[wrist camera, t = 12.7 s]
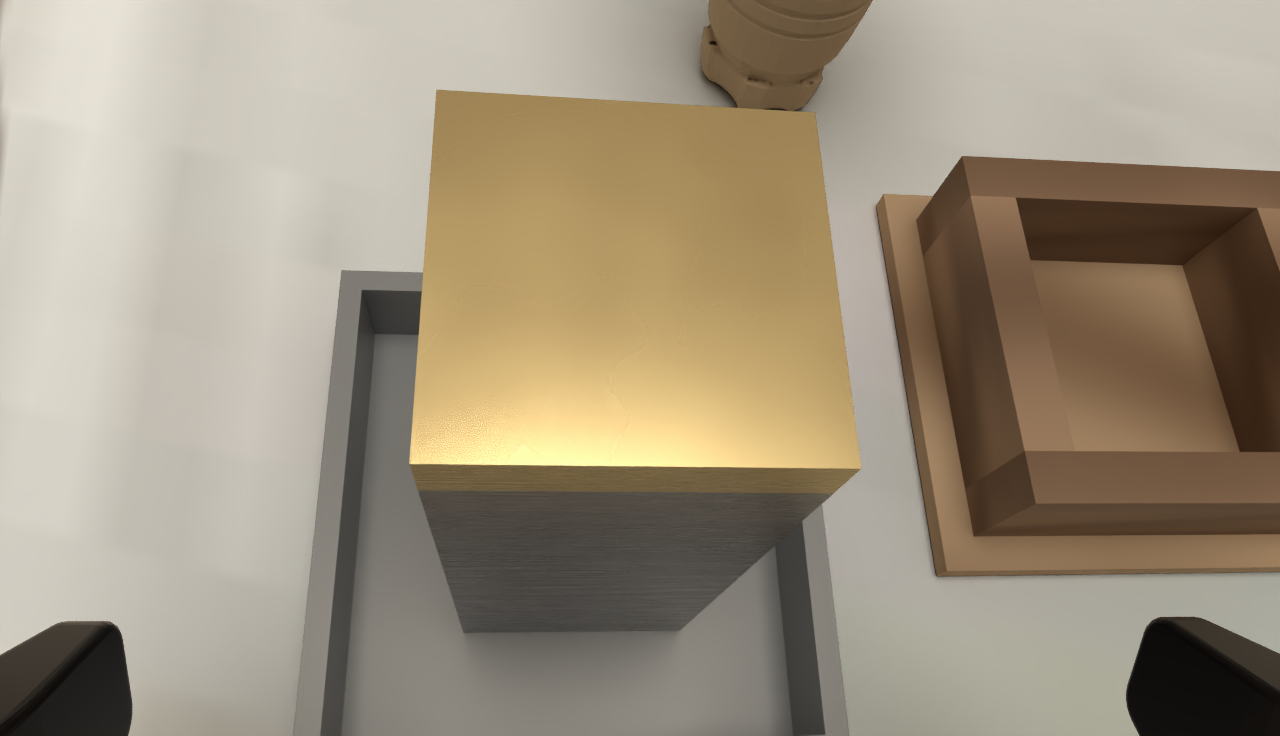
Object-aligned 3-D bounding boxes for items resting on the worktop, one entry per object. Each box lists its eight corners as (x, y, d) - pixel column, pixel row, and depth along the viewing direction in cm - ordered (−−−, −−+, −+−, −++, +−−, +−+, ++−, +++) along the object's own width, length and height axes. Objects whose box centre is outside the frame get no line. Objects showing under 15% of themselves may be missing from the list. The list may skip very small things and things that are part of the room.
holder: (1329, 571, 20) (1454, 538, 18) (936, 576, 19) (1006, 541, 16) (1212, 219, 24) (1302, 147, 21) (876, 205, 23) (925, 127, 20)
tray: (807, 763, 17) (851, 760, 15) (319, 781, 16) (287, 782, 14) (765, 337, 21) (795, 283, 19) (360, 328, 20) (341, 270, 18)
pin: (679, 630, 18) (861, 468, 8) (463, 633, 17) (409, 463, 8) (671, 429, 19) (815, 111, 10) (472, 426, 19) (436, 89, 10)
